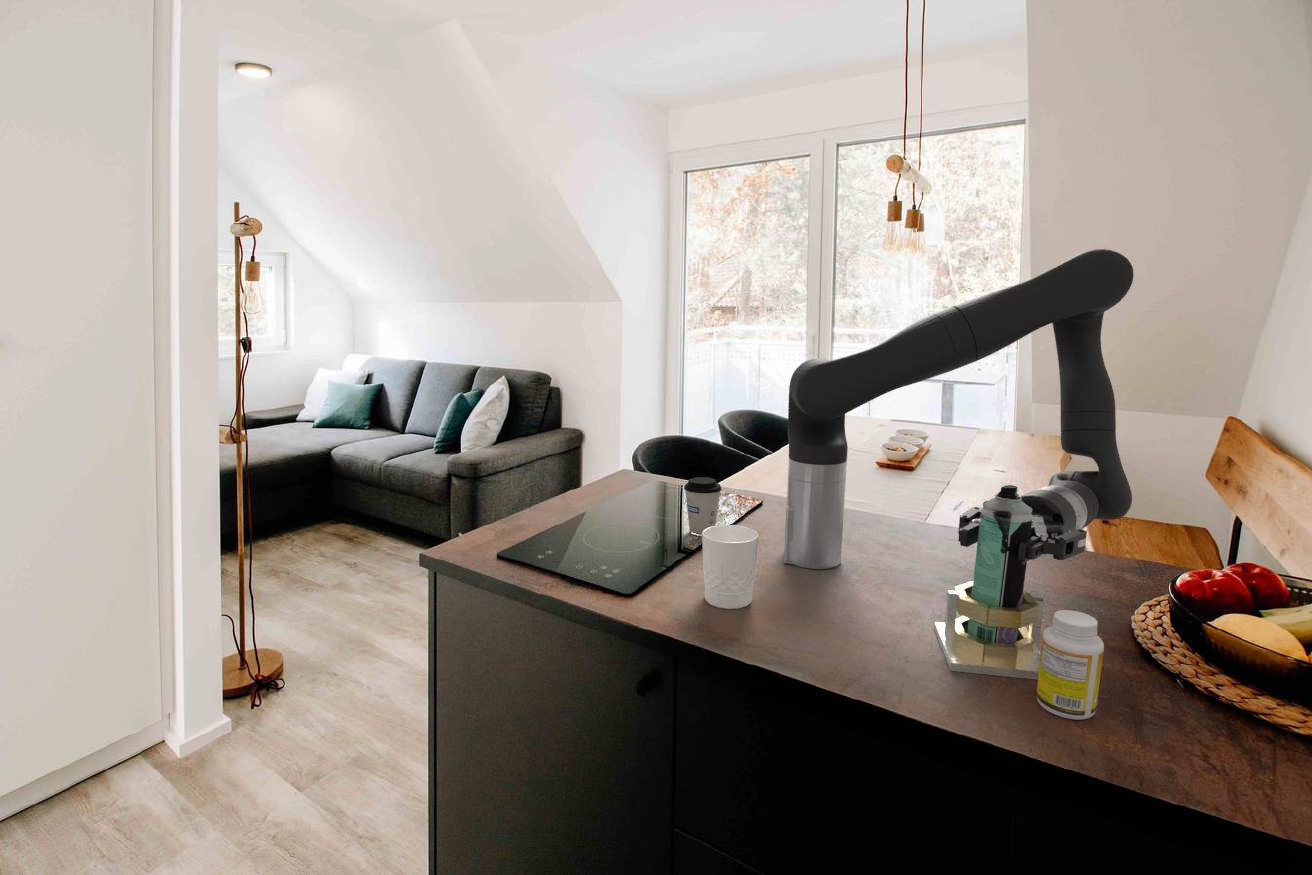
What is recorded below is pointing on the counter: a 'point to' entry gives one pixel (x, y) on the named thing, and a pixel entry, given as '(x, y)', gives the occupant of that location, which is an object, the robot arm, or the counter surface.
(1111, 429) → the robot arm
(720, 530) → the white cup
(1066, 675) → the supplement bottle
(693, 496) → the coffee cup
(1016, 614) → the collar stand
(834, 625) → the counter surface
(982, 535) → the spray can
